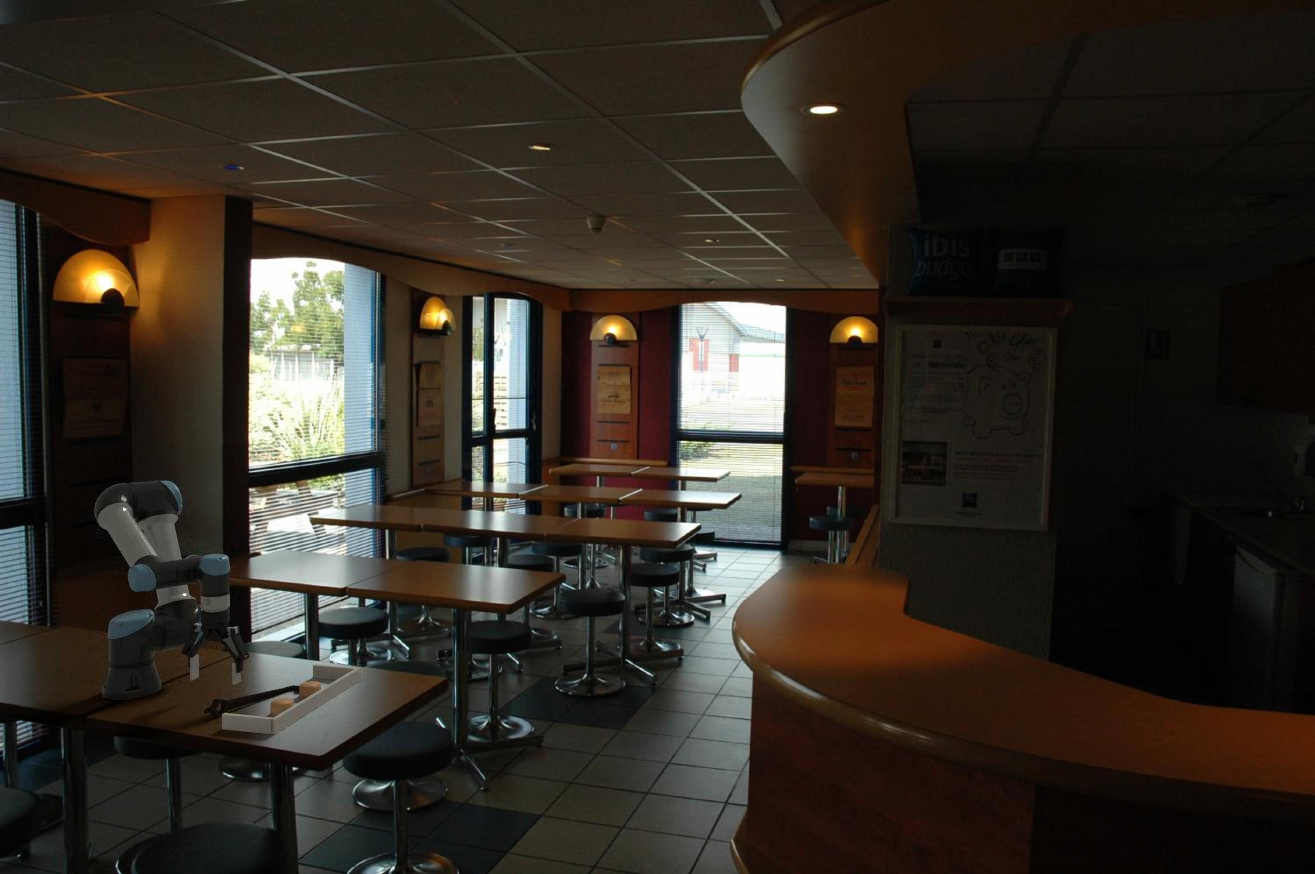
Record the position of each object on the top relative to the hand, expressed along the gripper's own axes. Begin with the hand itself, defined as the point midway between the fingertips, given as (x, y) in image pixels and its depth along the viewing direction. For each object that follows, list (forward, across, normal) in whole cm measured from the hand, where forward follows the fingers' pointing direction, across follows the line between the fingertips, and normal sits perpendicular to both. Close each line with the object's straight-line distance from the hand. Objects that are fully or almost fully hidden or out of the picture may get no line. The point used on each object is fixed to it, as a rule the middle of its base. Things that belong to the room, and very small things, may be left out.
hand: (215, 681), depth 261 cm
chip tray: (+5, +23, +4) cm, 24 cm away
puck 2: (+6, +24, +10) cm, 27 cm away
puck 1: (+5, +24, -5) cm, 26 cm away
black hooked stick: (+6, +14, 0) cm, 15 cm away
